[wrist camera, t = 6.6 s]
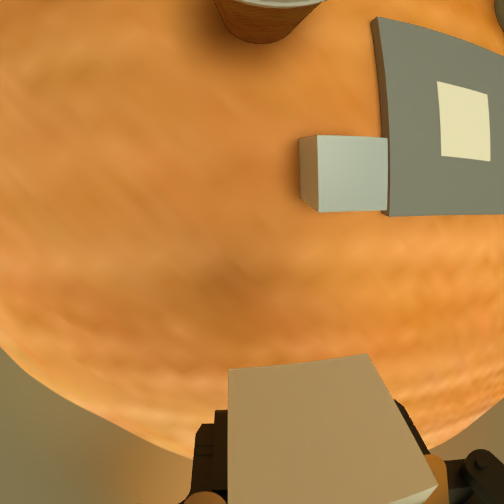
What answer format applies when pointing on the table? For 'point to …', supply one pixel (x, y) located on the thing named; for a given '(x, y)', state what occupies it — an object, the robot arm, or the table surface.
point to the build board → (440, 121)
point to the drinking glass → (500, 12)
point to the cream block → (320, 437)
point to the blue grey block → (344, 173)
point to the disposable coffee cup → (263, 17)
